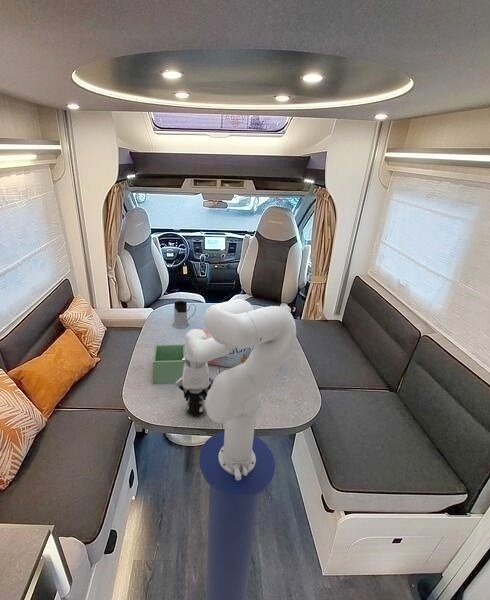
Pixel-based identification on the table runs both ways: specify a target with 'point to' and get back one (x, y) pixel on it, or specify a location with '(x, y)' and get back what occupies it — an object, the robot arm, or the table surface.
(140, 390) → the table surface
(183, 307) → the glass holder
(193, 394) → the beverage can
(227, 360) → the soda box
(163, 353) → the trash bin
